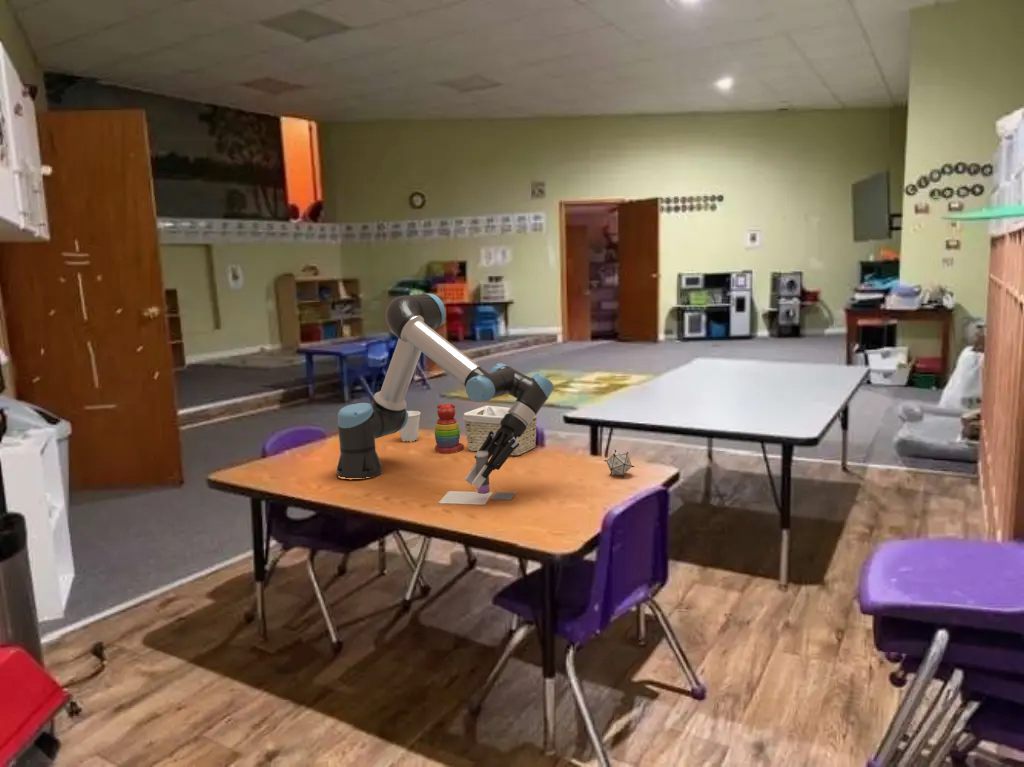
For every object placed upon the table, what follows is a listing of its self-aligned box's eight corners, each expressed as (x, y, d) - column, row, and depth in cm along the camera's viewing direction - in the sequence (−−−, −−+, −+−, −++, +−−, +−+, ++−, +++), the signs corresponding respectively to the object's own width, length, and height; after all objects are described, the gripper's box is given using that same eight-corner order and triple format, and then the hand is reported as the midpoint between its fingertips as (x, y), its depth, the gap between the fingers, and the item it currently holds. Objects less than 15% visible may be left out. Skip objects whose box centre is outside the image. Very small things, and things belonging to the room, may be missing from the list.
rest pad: (491, 499, 222) (491, 498, 222) (495, 493, 228) (495, 492, 228) (511, 500, 221) (511, 499, 221) (515, 493, 226) (515, 492, 226)
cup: (393, 443, 294) (391, 416, 292) (401, 437, 304) (399, 410, 302) (418, 443, 292) (416, 416, 291) (425, 437, 302) (423, 410, 300)
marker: (475, 493, 219) (474, 453, 217) (478, 489, 223) (477, 450, 221) (488, 494, 219) (486, 454, 217) (490, 489, 222) (489, 450, 220)
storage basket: (463, 451, 279) (461, 412, 276) (487, 441, 292) (485, 404, 290) (517, 458, 266) (516, 418, 263) (540, 447, 279) (539, 409, 277)
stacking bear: (464, 446, 285) (462, 400, 282) (460, 453, 275) (458, 406, 272) (436, 447, 286) (434, 401, 283) (431, 454, 276) (428, 406, 273)
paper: (438, 503, 220) (438, 502, 220) (448, 491, 231) (448, 491, 231) (484, 504, 218) (484, 504, 218) (493, 492, 228) (492, 492, 228)
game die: (625, 486, 242) (644, 462, 239) (610, 483, 235) (630, 459, 233) (608, 467, 247) (627, 444, 245) (594, 464, 241) (612, 440, 238)
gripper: (540, 432, 219) (494, 498, 213) (509, 422, 233) (465, 484, 227) (525, 417, 216) (478, 483, 209) (494, 408, 229) (449, 470, 223)
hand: (471, 483), depth 218 cm, fingers closed on marker, 3 cm apart
